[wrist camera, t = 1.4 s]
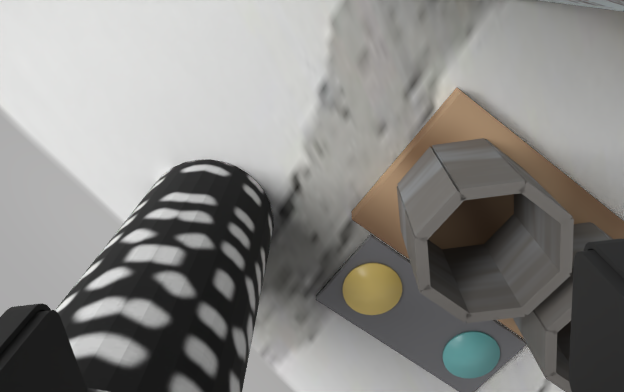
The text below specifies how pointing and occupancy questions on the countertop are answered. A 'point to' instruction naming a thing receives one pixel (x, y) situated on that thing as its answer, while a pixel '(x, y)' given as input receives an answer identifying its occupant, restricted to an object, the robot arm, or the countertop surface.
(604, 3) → the supplement box
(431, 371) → the card
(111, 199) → the countertop surface
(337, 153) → the countertop surface
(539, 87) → the countertop surface
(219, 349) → the spotted tube
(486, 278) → the double cup sorting tray
